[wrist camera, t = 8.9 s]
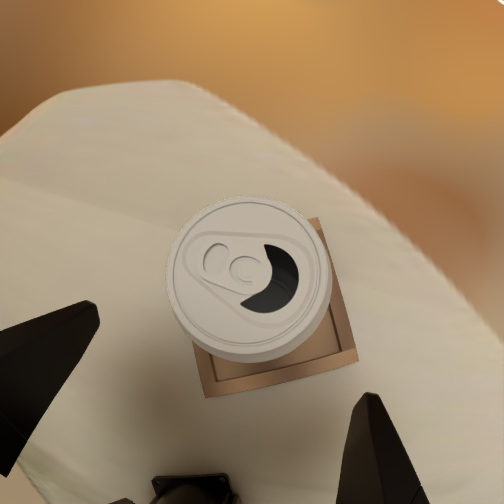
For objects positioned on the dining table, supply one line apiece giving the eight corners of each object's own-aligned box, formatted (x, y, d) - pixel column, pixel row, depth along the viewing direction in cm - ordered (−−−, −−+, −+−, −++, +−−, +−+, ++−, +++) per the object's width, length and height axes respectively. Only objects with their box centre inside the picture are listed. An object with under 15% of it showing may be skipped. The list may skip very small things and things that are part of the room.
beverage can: (287, 365, 20) (301, 394, 9) (204, 333, 21) (127, 318, 10) (317, 283, 22) (361, 217, 10) (237, 254, 23) (199, 166, 11)
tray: (209, 394, 20) (205, 397, 19) (181, 257, 24) (176, 251, 22) (353, 359, 20) (359, 360, 19) (315, 224, 24) (317, 217, 22)
